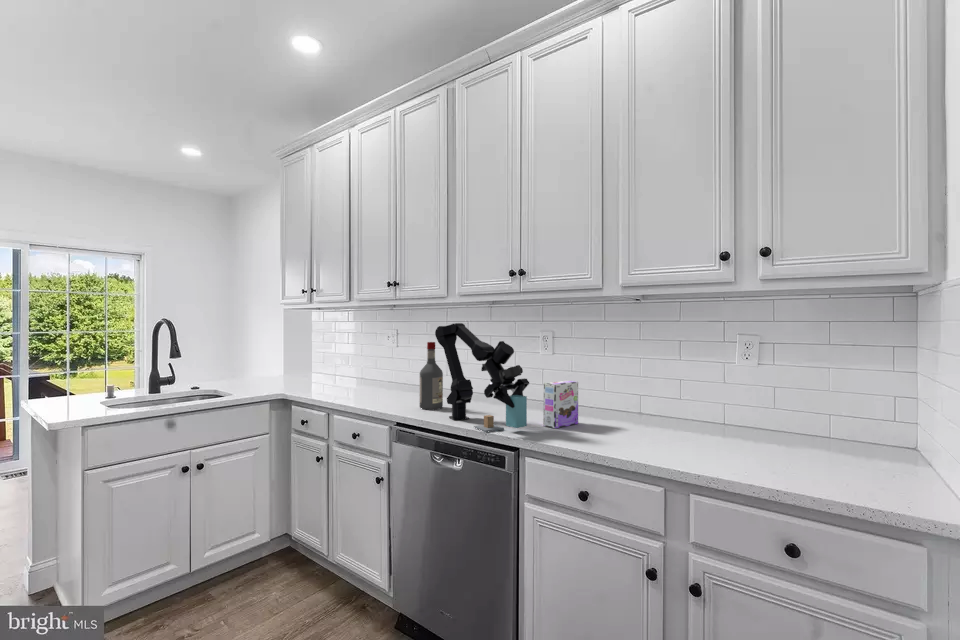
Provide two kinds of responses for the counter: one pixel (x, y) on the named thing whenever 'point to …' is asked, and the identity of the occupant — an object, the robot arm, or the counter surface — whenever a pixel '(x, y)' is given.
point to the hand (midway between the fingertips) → (519, 406)
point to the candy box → (560, 404)
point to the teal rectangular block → (517, 412)
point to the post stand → (489, 424)
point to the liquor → (431, 382)
